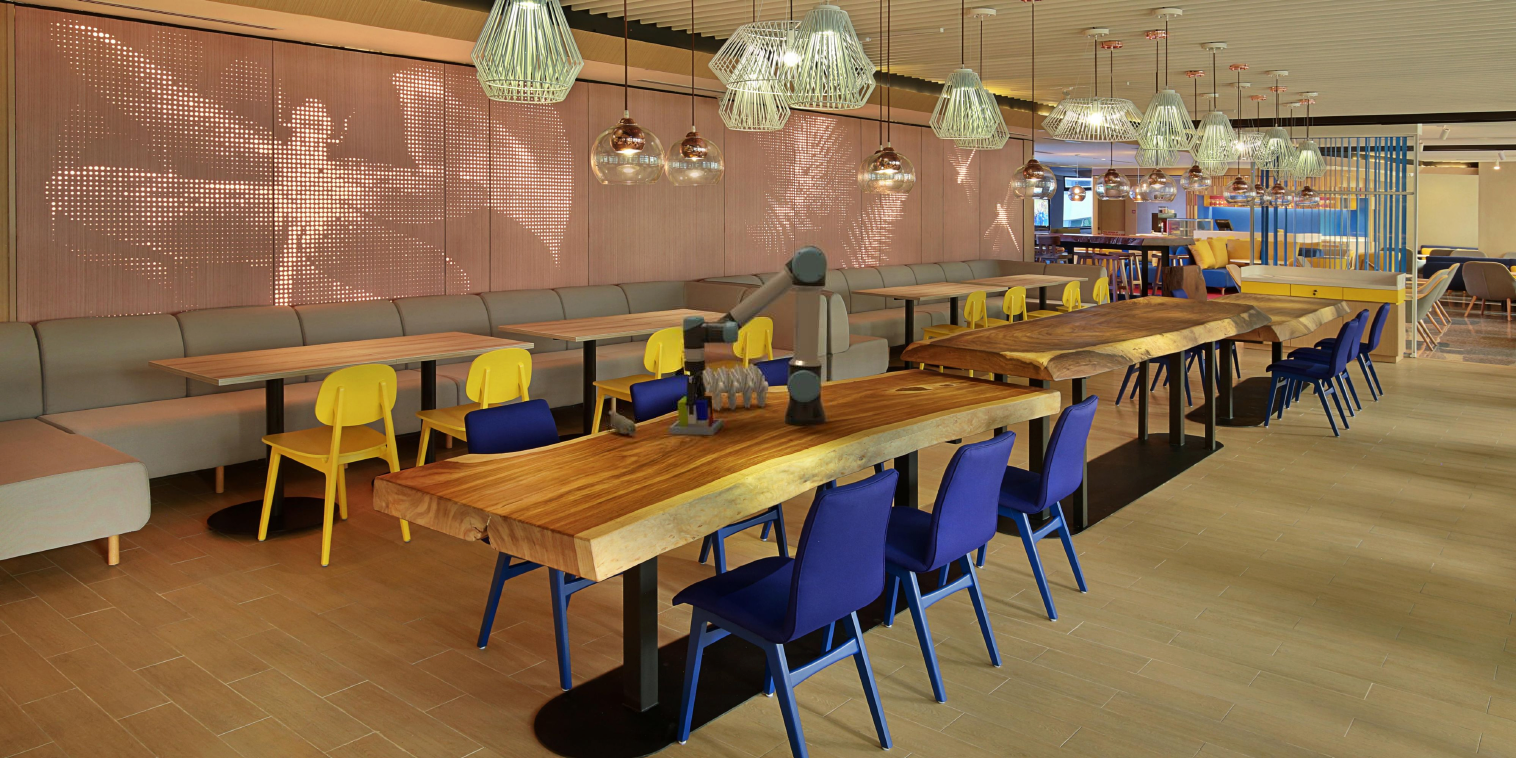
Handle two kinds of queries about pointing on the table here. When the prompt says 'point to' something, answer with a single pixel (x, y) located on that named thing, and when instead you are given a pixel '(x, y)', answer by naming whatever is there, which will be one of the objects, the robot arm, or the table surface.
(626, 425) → the decorative bird
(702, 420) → the puzzle toy
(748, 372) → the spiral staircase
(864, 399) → the table surface
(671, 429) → the tray
